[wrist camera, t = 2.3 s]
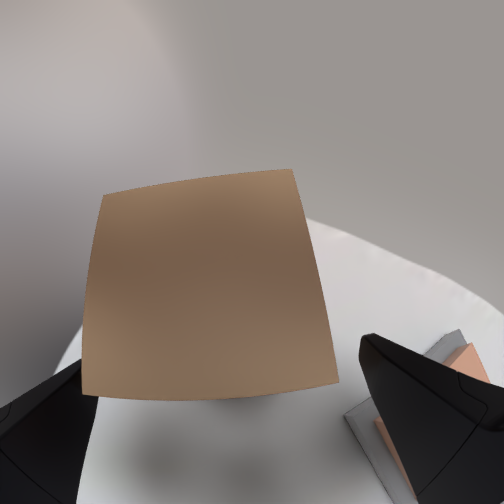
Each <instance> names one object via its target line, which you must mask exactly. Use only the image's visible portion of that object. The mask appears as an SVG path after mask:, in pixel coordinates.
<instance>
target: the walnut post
mask: <svg viewBox="0 0 504 504" xmlns="http://www.w3.org/2000/svg"><path fill="white" fill-rule="evenodd" d="M334 383H339V378H338V372H337V366H336V360H335V354H334V348H333V342H332V337H331V332H330V326H329V321H328V316H327V311H326V306H325V301H324V296H323V291H322V287H321V282H320V278H319V273H318V269H317V264H316V260H315V256H314V251H313V247H312V243H311V239H310V235H309V231H308V227H307V223H306V219H305V215H304V211H303V207H302V204H301V200H300V196H299V193H298V190H297V186H296V182H295V178H294V175H293V171H292V169H283V170H270V171H260V172H259V171H258V172H248V173H238V174H229V175H221V176H213V177H205V178H198V179H191V180H184V181H177V182H171V183H165V184H159V185H153V186H147V187H142V188H136V189H131V190H127V191H121V192H117V193H111V194H107V195H103V199H102V203H101V207H100V211H99V216H98V221H97V226H96V230H95V235H94V240H93V245H92V251H91V257H90V263H89V270H88V277H87V285H86V295H85V304H84V315H83V331H82V394H84V395H92V396H100V397H110V398H122V399H137V400H167V401H183V400H214V399H230V398H242V397H253V396H262V395H270V394H277V393H284V392H291V391H297V390H303V389H309V388H314V387H320V386H325V385H329V384H334Z"/></svg>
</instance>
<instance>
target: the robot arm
mask: <svg viewBox="0 0 504 504" xmlns="http://www.w3.org/2000/svg"><path fill="white" fill-rule="evenodd" d="M359 362H360V365H361V368H362V371H363V374H364V377H365V380H366V382H367V385H368V388H369V391H370V394H371V397H372V399H373V402H374V404H375V406H376V408H377V410H378V412H379V414H380V417H381V419H382V421H383V423H384V425H385V427H386V429H387V432H388V434H389V436H390V438H391V440H392V443H393V445H394V447H395V449H396V451H397V454H398V456H399V458H400V460H401V463H402V465H403V467H404V470H405V472H406V474H407V477H408V479H409V481H410V484H411V486H412V489H413V491H414V493H415V496H417V497H416V499H417V501H418V504H504V388H503V387H499V386H496V385H493V384H490V383H487V382H484V381H481V380H478V379H476V378H473V377H471V376H468V375H466V374H464V373H461V372H459V371H458V372H457V371H456V370H454V369H452V368H450V367H448V366H445V365H443V364H441V363H439V362H436V361H434V360H432V359H430V358H427V357H425V356H423V355H421V354H418V353H416V352H414V351H412V350H410V349H407V348H405V347H403V346H401V345H399V344H396V343H394V342H392V341H390V340H388V339H386V338H383V337H381V336H379V335H377V334H375V333H371V334H367V335H363V336H362V338H361V342H360V349H359ZM98 398H99V396H92V395H84V394H82V359H79V360H78V361H76V362H74V363H73V364H71V365H70V366H68V367H66V368H65V369H63V370H62V371H60V372H58V373H57V374H55V375H54V376H52V377H50V378H49V379H48V380H46V381H44V382H42V383H41V384H39V385H38V386H36V387H34V388H33V389H31V390H29V391H28V392H26V393H25V394H23V395H21V396H20V397H18V398H17V399H15V400H13V401H12V402H10V403H9V404H7V405H5V406H4V407H2V408H0V504H76V501H77V494H78V489H79V483H80V478H81V473H82V468H83V464H84V459H85V455H86V451H87V446H88V442H89V438H90V435H91V431H92V427H93V423H94V419H95V415H96V409H97V404H98Z"/></svg>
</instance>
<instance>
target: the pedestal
mask: <svg viewBox="0 0 504 504" xmlns="http://www.w3.org/2000/svg"><path fill="white" fill-rule="evenodd" d="M423 356H425V357H427V358H430V359H432V360H434V361H436V362H439V363H441V364H443V365H445V366H448V367H450V368H452V369H454V370H456V371H457V372H458V371H459V372H461V373H464V374H466V375H468V376H471V377H473V378H476V379H478V380H481V381H484V382H487V383H490V381H489V379H488V376H487V374H486V372H485V369H484V367H483V365H482V363H481V360H480V358H479V356H478V354H477V352H476V350H475V348H474V346H473V344H472V343H469V344H467V343H466V341H465V339H464V337H463V335H462V333H461V331H460V329H457V330H455V331H453V332H451V333H448V334H446V335H445V336H444V337H443V338H442V339H441V340H440V341H439V342H438V343H437V344H435V345H434V346H433V347H432V348H431V349H430V350H429V351H428V352H427V353H426V354H424V355H423ZM490 384H491V383H490ZM344 416H345V418H346V420H347V421H348V423H349V425H350V427H351V429H352V430H353V432H354V434H355V436H356V437H357V439H358V441H359V443H360V444H361V446H362V448H363V450H364V452H365V453H366V455H367V457H368V459H369V460H370V462H371V464H372V466H373V468H374V469H375V471H376V473H377V475H378V476H379V478H380V480H381V482H382V483H383V485H384V487H385V489H386V491H387V492H388V494H389V496H390V498H391V499H392V501H393V503H394V504H418V501H417V499H416V497H417V496H415V493H414V491H413V489H412V486H411V484H410V481H409V479H408V477H407V474H406V472H405V470H404V467H403V465H402V463H401V460H400V458H399V456H398V454H397V451H396V449H395V447H394V445H393V443H392V440H391V438H390V436H389V434H388V432H387V429H386V427H385V425H384V423H383V421H382V419H381V417H380V414H379V412H378V410H377V408H376V406H375V404H374V402H373V399H372V397H370V398H368V399H367V400H366V401H364V402H363V403H361V404H360V405H358V406H357V407H355V408H354V409H352V410H350V411H349V412H347V413H346V414H344Z"/></svg>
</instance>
